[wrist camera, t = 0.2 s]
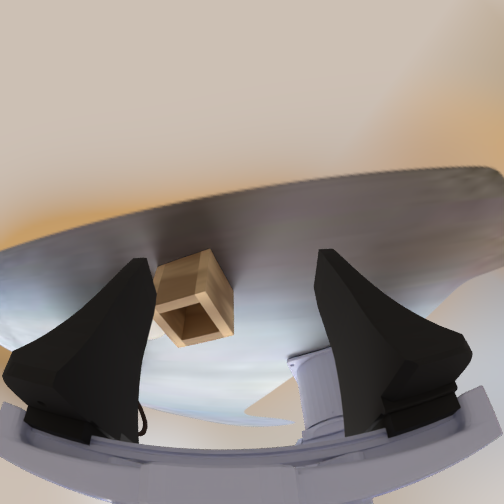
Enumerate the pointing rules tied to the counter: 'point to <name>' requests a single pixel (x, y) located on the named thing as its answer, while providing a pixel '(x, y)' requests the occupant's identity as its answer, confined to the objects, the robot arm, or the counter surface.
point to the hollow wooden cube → (193, 300)
